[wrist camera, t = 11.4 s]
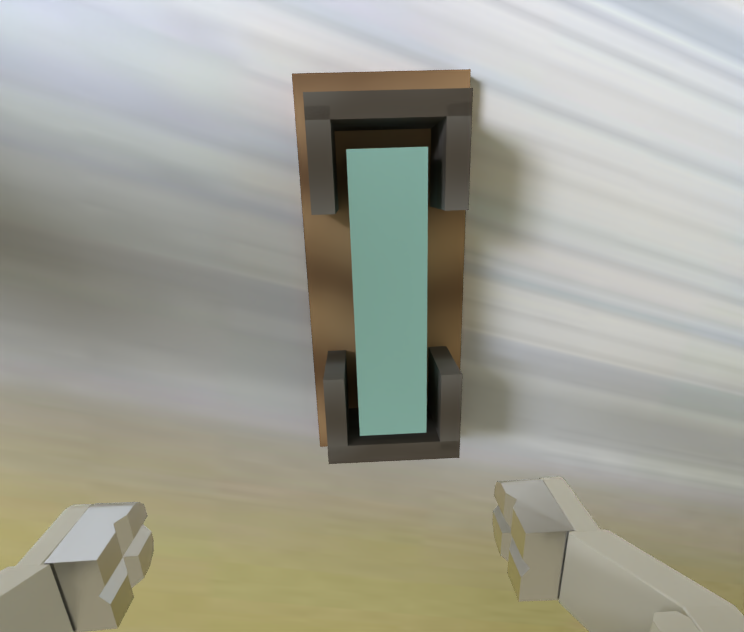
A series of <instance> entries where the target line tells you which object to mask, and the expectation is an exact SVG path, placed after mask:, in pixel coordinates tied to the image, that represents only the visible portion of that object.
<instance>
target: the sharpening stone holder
mask: <svg viewBox="0 0 744 632" xmlns="http://www.w3.org/2000/svg"><path fill="white" fill-rule="evenodd" d="M470 72H471V69H469V70H427V71H384V72H342V73H300V74H292V81H293V94H294V107H295V120H296V134H297V147H298V160H299V173H300V186H301V199H302V213H303V226H304V239H305V252H306V265H307V278H308V292H309V305H310V318H311V331H312V344H313V357H314V371H315V384H316V397H317V410H318V423H319V436H320V447H323V446H328V458H329V464H337V463H358V462H378V461H399V460H420V459H440V458H459V449H460V422H461V395H462V373H461V371H460V357H461V328H462V300H463V271H464V243H465V214H466V210H468V205H469V178H470V151H471V124H472V97H473V88H470ZM400 147H428V255H427V423H426V433H407V434H387V435H367V436H360V428H359V407H358V386H357V365H356V344H355V323H354V302H353V281H352V260H351V239H350V218H349V197H348V176H347V155H346V149H369V148H400Z"/></svg>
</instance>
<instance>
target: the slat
mask: <svg viewBox="0 0 744 632" xmlns="http://www.w3.org/2000/svg"><path fill="white" fill-rule="evenodd" d="M346 155H347V176H348V197H349V218H350V239H351V260H352V281H353V302H354V323H355V344H356V365H357V386H358V407H359V428H360V436H367V435H387V434H407V433H426V423H427V255H428V147H400V148H369V149H346Z"/></svg>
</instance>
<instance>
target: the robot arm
mask: <svg viewBox="0 0 744 632" xmlns="http://www.w3.org/2000/svg"><path fill="white" fill-rule="evenodd" d="M494 496H495V499H496V501H497V503H498V506H497V507H496V508H495V509H494V511H493V530H494V537H495V541H496V545H497V547H498V550H499V553H500V555H501V556H502V557H503V558H504V559H506V560H507V561H508V572H507V573H508V576H509V578H510V581H511V583H512V586H513V588H514V591H515V593H516V596H517V598H518V601H543V600H559V603H560V604H561V605H562V606H563V607H564V608H565V609H566V610H567V611H569V612H570V613H571V614H572V615H573V616H574V617H575V618H576V619H577V620H578V621H579V622H580V623H581V624H582V625H583V626H584V627H585V628H586V629H587V630H588V631H589V632H744V615H743V614H742V613H741V612H740V611H739V610H738V609H737V608H736V606H735V605H733V604H731V603H730V602H728V601H726V600H725V599H723V598H721V597H720V596H718V595H716V594H715V593H713V592H711V591H710V590H708V589H706V588H705V587H703V586H701V585H700V584H698V583H696V582H694V581H693V580H691V579H689V578H688V577H686V576H684V575H683V574H681V573H679V572H678V571H676V570H674V569H673V568H671V567H669V566H668V565H666V564H664V563H663V562H661V561H659V560H658V559H656V558H654V557H653V556H651V555H649V554H648V553H646V552H644V551H643V550H641V549H639V548H637V547H636V546H634V545H632V544H631V543H629V542H627V541H626V540H624V539H622V538H621V537H619V536H617V535H616V534H614V533H612V532H611V531H609V530H601V529H600V528H599V527H598V525H597V524H596V523H595V521H594V520H593V518H592V517H591V516H590V514H589V513H588V511H587V510H586V509H585V507H584V506H583V504H582V503H581V502H580V500H579V499H578V497H577V496H576V495H575V493H574V492H573V490H572V489H571V488H570V486H569V485H568V483H567V482H566V481H565V479H563V478H562V477H547V478H539V479H526V480H510V481H497V482H496V485H495V491H494ZM146 518H147V513H146V509H145V506H144V504H142V503H140V502H127V503H97V504H81V505H72V506H70V507H68V508H66V509H65V510H64V511H63V512H62V513H61V515H60V516H59V517H58V518H57V519H56V520H55V521H54V523H53V524H52V525H51V526H50V527H49V528H48V529H47V531H46V532H45V533H44V534H43V535H42V536H41V537H40V539H39V540H38V541H37V542H36V543H35V544H34V545H33V547H32V548H31V549H30V550H29V551H28V552H27V553H26V555H25V556H24V557H23V558H22V559H21V560H20V561H19V563H18V564H17V565H16V566H13V567H7V568H5V569H3V570H2V571H0V632H86V631H96V630H106V629H116V628H118V627H119V625H120V623H121V621H122V619H123V617H124V615H125V613H126V612H127V610H128V608H129V606H130V604H131V602H132V600H133V598H134V596H133V592H132V587H134V586H135V585H136V584H137V583H139V582H140V581H141V580H142V579H143V578H144V577H145V575H146V573H147V571H148V569H149V567H150V564H151V560H152V556H153V551H154V545H153V536H152V532H151V531H150V530H149V529H148V528H147V527H145V526H144V525H143V523H144V521H145V519H146Z"/></svg>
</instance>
